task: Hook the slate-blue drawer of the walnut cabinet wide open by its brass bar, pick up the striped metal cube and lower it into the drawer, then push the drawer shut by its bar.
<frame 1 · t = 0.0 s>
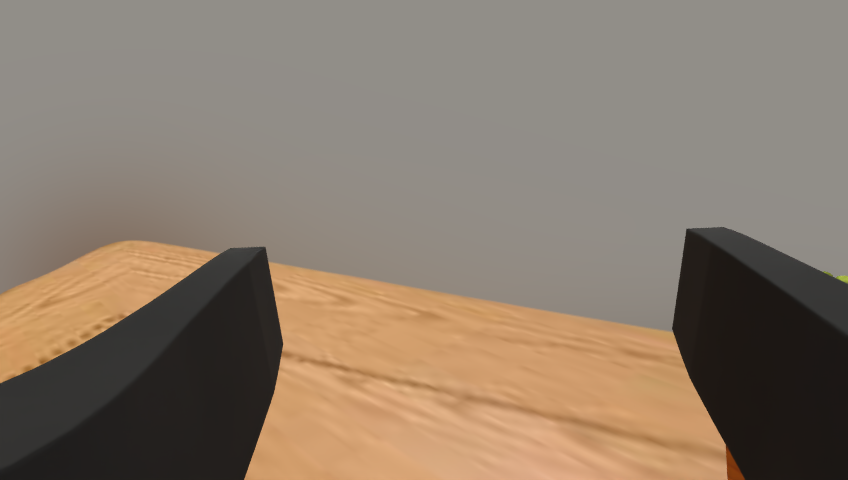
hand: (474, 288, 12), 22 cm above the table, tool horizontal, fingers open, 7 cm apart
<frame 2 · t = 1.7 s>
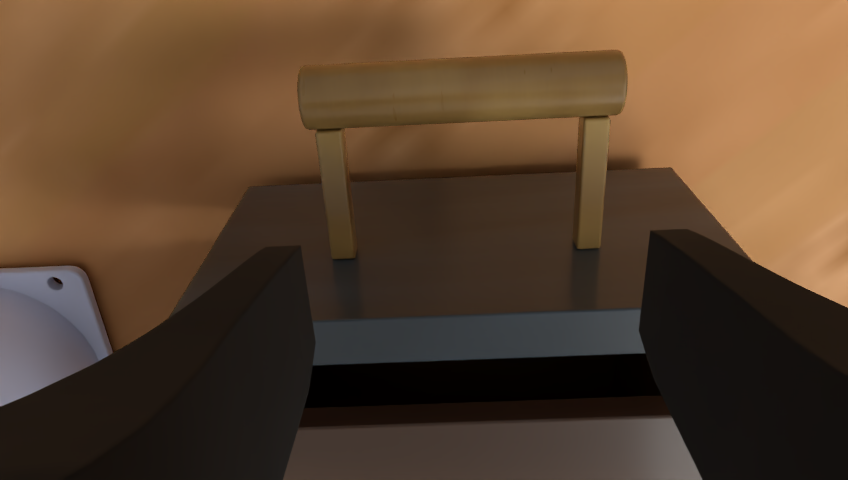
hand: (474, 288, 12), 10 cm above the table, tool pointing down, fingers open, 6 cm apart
drawer: (467, 365, 20), point 5 cm above the table, slide at 1.0 cm
cabinet: (464, 393, 26), on the table
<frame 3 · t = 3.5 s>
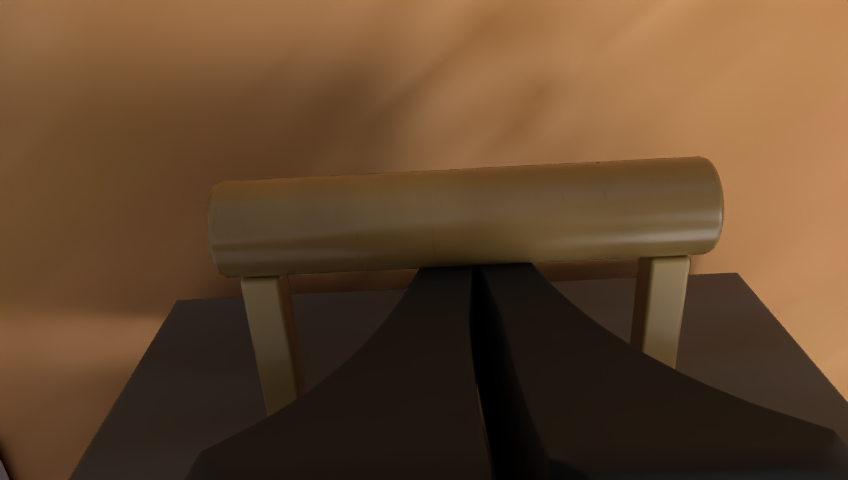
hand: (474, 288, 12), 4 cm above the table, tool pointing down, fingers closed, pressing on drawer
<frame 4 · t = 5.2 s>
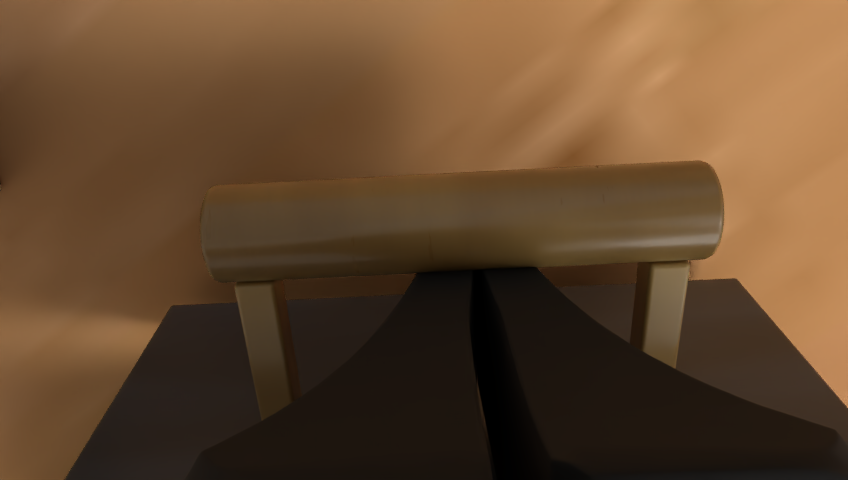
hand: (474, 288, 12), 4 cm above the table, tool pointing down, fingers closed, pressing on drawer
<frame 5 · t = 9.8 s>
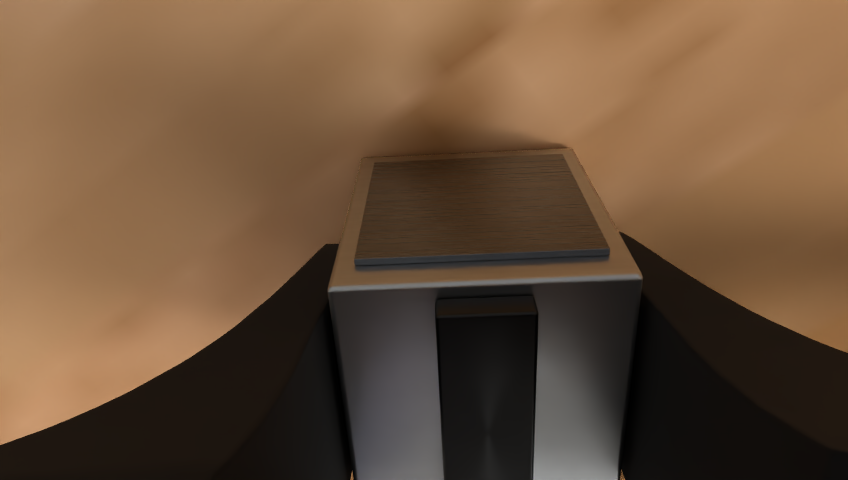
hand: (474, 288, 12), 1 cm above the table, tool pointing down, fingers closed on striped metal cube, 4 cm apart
striped metal cube: (468, 249, 13), on the table, touching gripper
when the fingers open (4 cm above the table, at t = 15.4 s): striped metal cube drops 1 cm, resting on drawer.
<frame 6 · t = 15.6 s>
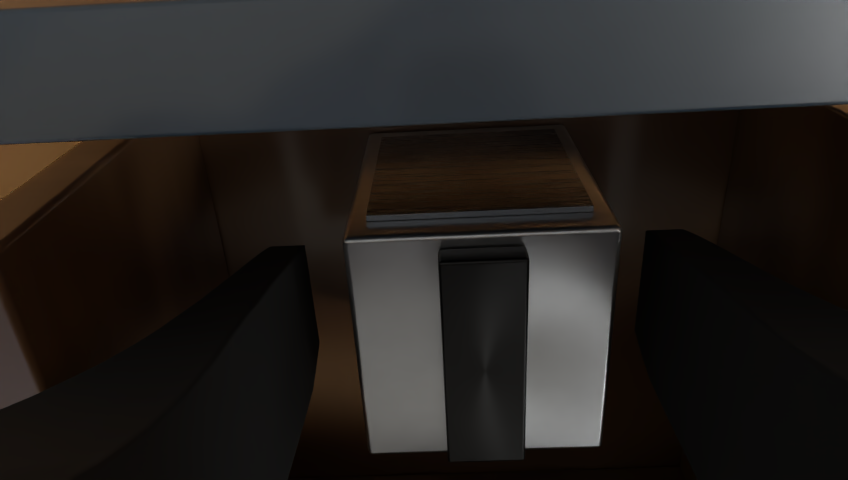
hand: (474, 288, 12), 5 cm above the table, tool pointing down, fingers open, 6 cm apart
striped metal cube: (468, 220, 14), point 2 cm above the table, touching drawer
drawer: (475, 236, 11), point 5 cm above the table, slide at 8.8 cm, touching striped metal cube
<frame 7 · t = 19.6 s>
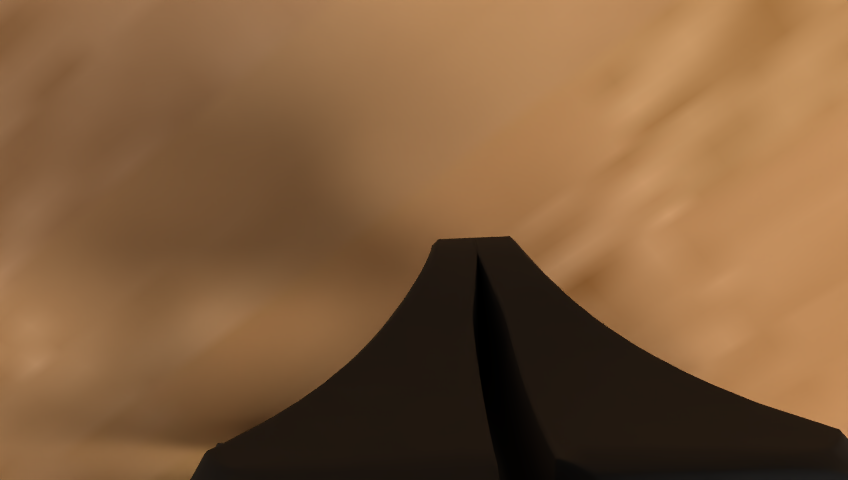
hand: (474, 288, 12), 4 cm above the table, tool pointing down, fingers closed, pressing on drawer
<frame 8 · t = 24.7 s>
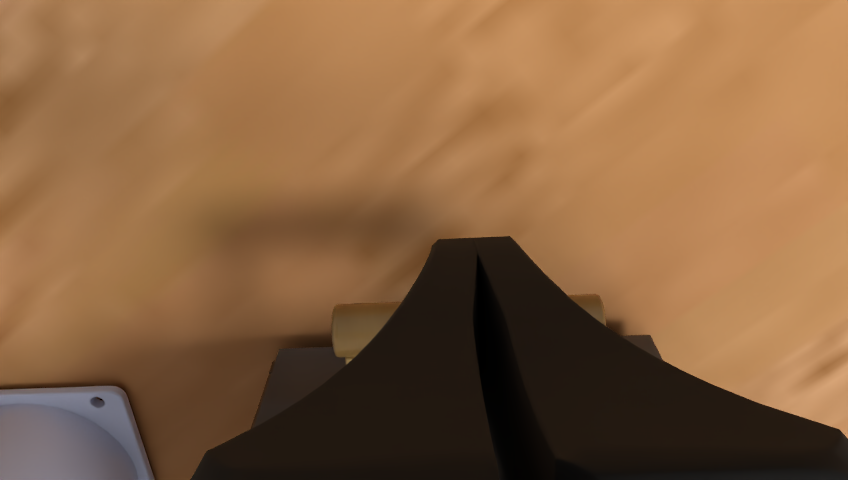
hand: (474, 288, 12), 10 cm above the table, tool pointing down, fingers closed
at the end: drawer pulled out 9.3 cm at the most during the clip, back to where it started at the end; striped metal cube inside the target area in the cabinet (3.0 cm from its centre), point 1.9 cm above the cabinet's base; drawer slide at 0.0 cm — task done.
